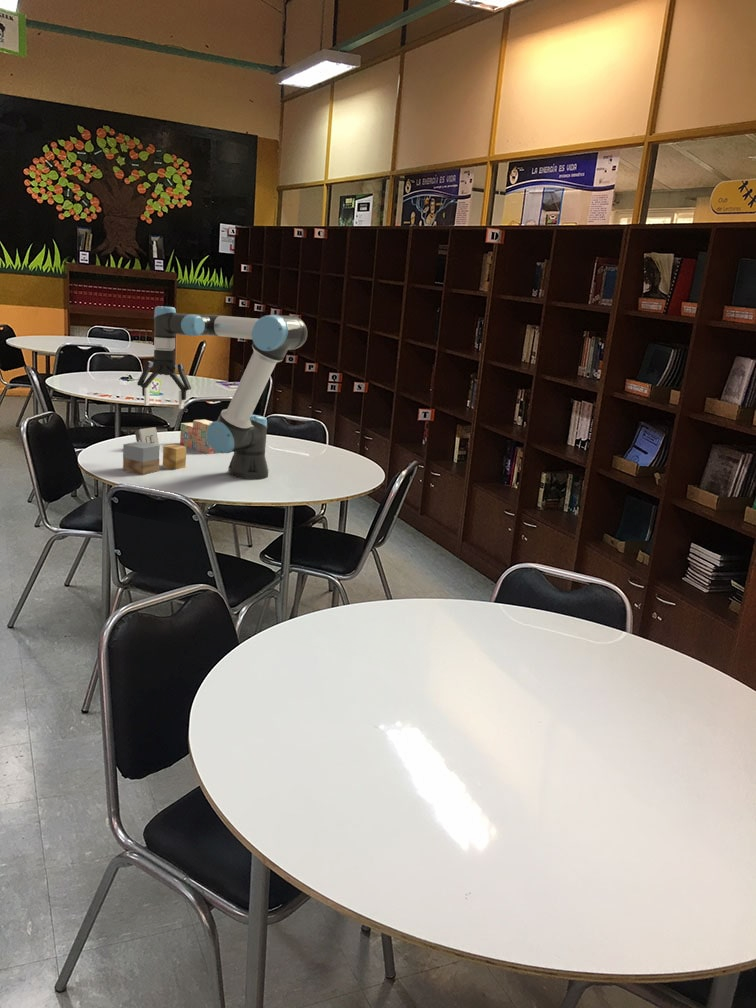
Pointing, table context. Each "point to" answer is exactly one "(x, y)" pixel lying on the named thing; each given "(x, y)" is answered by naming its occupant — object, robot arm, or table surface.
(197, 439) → the stack of blocks
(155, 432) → the electrical switch
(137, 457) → the tower top block
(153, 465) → the tower bottom block
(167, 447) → the ochre block
